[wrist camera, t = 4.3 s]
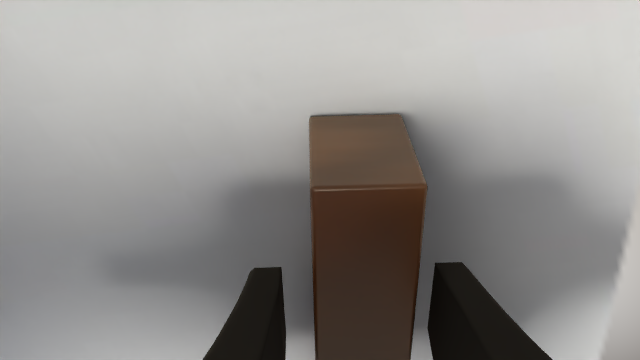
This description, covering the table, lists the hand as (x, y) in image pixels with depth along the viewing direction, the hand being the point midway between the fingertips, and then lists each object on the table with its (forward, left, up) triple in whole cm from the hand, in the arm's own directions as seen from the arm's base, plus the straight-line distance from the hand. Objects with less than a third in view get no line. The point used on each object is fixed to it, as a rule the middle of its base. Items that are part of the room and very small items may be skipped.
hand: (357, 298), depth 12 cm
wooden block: (0, 0, -1) cm, 1 cm away
